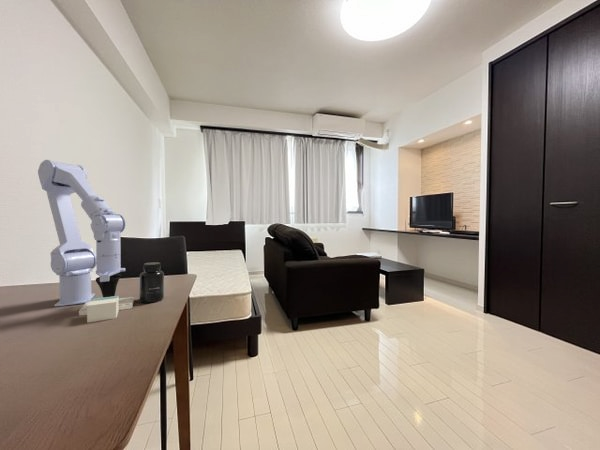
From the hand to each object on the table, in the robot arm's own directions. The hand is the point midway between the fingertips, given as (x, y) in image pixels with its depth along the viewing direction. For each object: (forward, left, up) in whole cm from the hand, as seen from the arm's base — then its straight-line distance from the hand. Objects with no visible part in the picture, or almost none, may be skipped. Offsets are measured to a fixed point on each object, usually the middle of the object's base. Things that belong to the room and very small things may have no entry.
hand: (109, 300), depth 75 cm
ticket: (0, 0, -2) cm, 2 cm away
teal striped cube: (+8, 0, -2) cm, 8 cm away
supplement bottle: (-2, +11, -2) cm, 11 cm away
